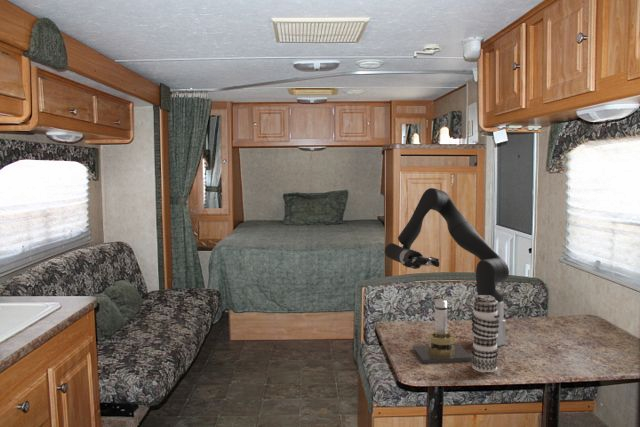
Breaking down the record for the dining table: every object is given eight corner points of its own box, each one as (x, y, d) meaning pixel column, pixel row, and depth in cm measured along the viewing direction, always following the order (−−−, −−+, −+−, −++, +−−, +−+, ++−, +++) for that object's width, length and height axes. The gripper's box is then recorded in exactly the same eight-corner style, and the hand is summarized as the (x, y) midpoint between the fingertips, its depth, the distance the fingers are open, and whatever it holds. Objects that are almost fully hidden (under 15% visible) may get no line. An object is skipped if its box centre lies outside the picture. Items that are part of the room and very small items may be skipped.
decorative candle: (487, 360, 180) (488, 292, 178) (504, 370, 171) (505, 298, 169) (465, 364, 177) (465, 294, 175) (481, 374, 168) (482, 301, 166)
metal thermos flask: (445, 348, 188) (445, 298, 187) (449, 353, 184) (449, 301, 182) (433, 349, 188) (433, 299, 187) (437, 353, 184) (437, 302, 182)
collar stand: (458, 347, 194) (458, 328, 193) (472, 361, 180) (472, 340, 179) (412, 349, 192) (412, 330, 192) (422, 363, 178) (422, 343, 178)
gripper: (395, 251, 217) (412, 257, 201) (426, 248, 220) (444, 254, 205) (396, 268, 217) (412, 275, 202) (426, 265, 221) (444, 273, 205)
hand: (428, 265), depth 203 cm, fingers open, 8 cm apart
